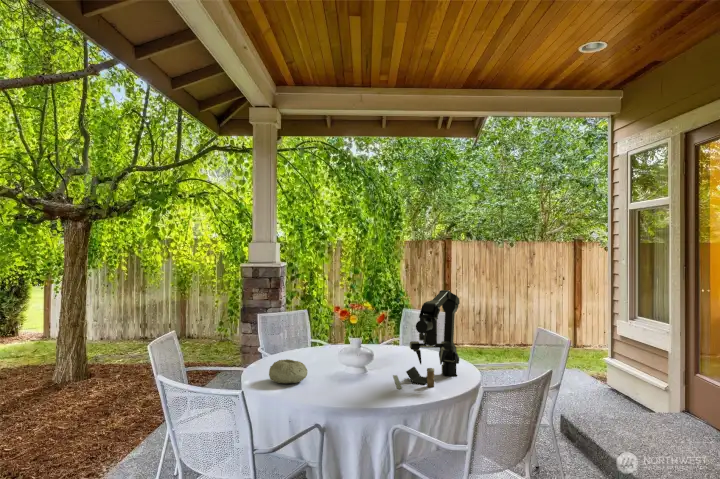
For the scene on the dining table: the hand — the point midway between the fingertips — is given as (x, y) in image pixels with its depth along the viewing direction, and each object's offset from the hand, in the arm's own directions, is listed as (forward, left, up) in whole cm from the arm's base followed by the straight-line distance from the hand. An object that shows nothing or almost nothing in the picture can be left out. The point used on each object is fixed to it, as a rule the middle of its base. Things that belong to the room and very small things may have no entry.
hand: (430, 364), depth 207 cm
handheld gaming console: (+4, -9, -11) cm, 14 cm away
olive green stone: (+66, -7, -10) cm, 67 cm away
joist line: (+15, -7, -10) cm, 19 cm away
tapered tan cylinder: (0, 0, -10) cm, 10 cm away
